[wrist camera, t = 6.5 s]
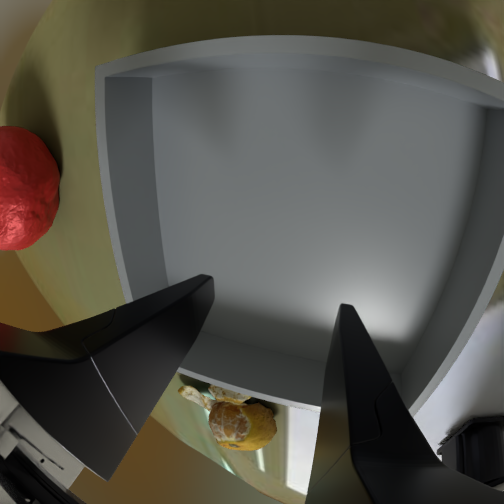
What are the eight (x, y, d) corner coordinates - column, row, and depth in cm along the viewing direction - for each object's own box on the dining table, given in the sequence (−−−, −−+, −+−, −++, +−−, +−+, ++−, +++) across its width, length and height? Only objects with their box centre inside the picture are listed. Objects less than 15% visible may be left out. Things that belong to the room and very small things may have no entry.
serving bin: (491, 100, 7) (539, 101, 4) (405, 371, 15) (407, 423, 12) (152, 69, 12) (95, 66, 8) (174, 319, 19) (143, 358, 16)
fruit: (231, 365, 19) (212, 407, 16) (304, 418, 20) (296, 456, 17) (175, 386, 23) (157, 418, 20) (240, 430, 25) (228, 460, 22)
